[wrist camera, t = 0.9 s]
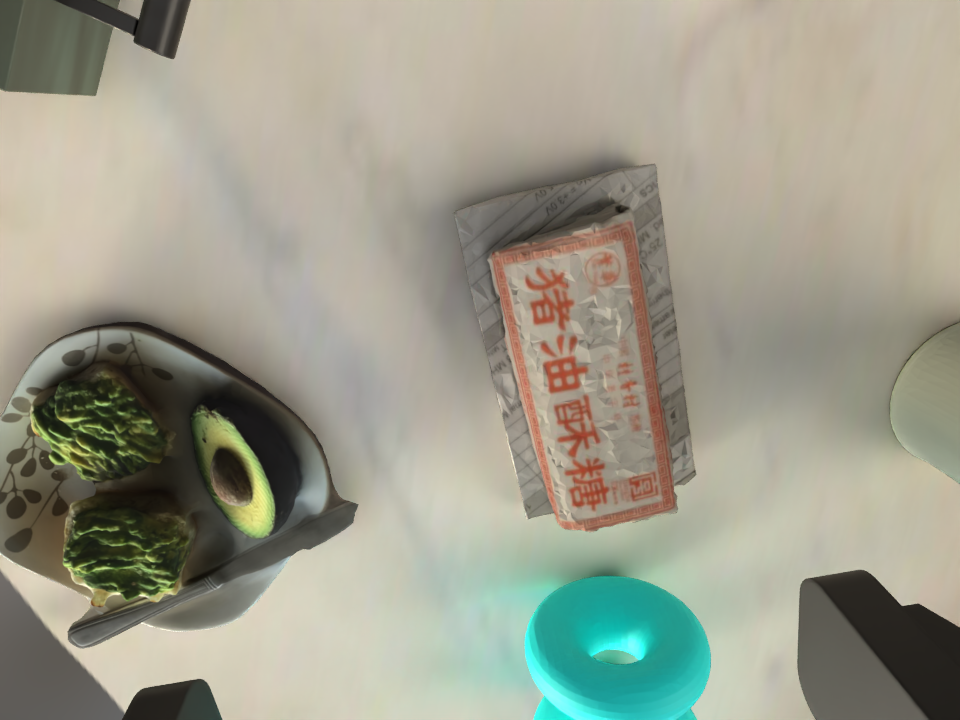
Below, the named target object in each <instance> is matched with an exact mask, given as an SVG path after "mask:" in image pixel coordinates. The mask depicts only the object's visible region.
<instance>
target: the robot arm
mask: <svg viewBox="0 0 960 720" xmlns="http://www.w3.org/2000/svg"><path fill="white" fill-rule="evenodd" d="M797 664H798V674H799V680H800V684H801V687H802V690H803V694H804V696H805V699H806V701H807V704H808V706H809V708H810V710H811V712H812V714H813V716H814V717H815V719H816V720H960V627H958V626H956V625H955V624H953V623H951V622H949V621H948V620H946V619H944V618H942V617H941V616H939V615H937V614H936V613H934V612H932V611H930V610H929V609H927V608H925V607H924V606H922V605H920V604H913V605H907V606H901V605H900V604H899V603H898V602H897V600H896V599H895V598H894V597H893V596H892V595H891V594H890V593H889V592H888V591H887V590H886V589H885V588H884V587H883V586H882V585H881V584H880V583H879V581H878V580H877V579H876V578H875V577H873V576H872V575H871V574H870V573H868V572H867V571H864V570H855V571H849V572H843V573H837V574H832V575H826V576H820V577H814V578H808V579H805V580H804V581H803V582H802V584H801V587H800V598H799V630H798V661H797ZM122 720H222V718H221V715H220V713H219V710H218V707H217V705H216V702H215V700H214V697H213V694H212V692H211V689H210V687H209V685H208V684H207V682H205V681H204V680H202V679H196V680H190V681H184V682H178V683H172V684H166V685H160V686H154V687H148V688H144V689H142V690H140V691H139V692H138V693H137V694H136V695H135V696H134V698H133V700H132V701H131V703H130V705H129V707H128V709H127V711H126V713H125V715H124V717H123V719H122Z"/></svg>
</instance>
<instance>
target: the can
mask: <svg viewBox="0 0 960 720" xmlns="http://www.w3.org/2000/svg"><path fill="white" fill-rule="evenodd" d="M890 419H891V425H892V428H893V431H894V433H895V435H896V437H897V439H898V441H899V442H900V444H901V445H902V446H903V447H904V448H905V449H906V450H907V451H908V452H909V453H911V454H912V455H913V456H915V457H917V458H919V459H921V460H923V461H925V462H928V463H929V464H931V465H932V466H934V467H936V468H937V469H939V470H940V471H942V472H943V473H945V474H946V475H948V476H949V477H951V478H952V479H953V480H955V481H956V482H958V483H959V484H960V323H957V324H955V325H952V326H950V327H948V328H946V329H944V330H943V331H941V332H939V333H937V334H936V335H934V336H933V337H932V338H930V339H929V340H928V341H927V342H925V343H924V344H923V345H922V346H921V347H920V348H919V349H918V350H917V351H916V352H915V353H914V354H913V355H912V357H911V358H910V359H909V360H908V361H907V363H906V364H905V366H904V368H903V369H902V371H901V372H900V374H899V376H898V379H897V381H896V383H895V385H894V389H893V392H892V396H891V401H890Z"/></svg>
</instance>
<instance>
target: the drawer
mask: <svg viewBox="0 0 960 720" xmlns="http://www.w3.org/2000/svg"><path fill="white" fill-rule="evenodd" d="M190 1H191V0H144V2H143V5H142V9H141V13H140V17H139V19H138V18H135V17H133V16H131V15H129V14H127V13H124V12H122V11H120V10H118V9H117V8H118V4H119V0H0V90H3V91H8V92H28V93H47V94H66V95H85V96H96V93H97V89H98V85H99V81H100V77H101V73H102V69H103V65H104V61H105V57H106V53H107V49H108V45H109V41H110V37H111V33H112V29H113V27H114V28H116V29H119V30H121V31H123V32H125V33H128V34H130V35H132V36H135V37H134V43H135V44H137V45H139V46H141V47H143V48H145V49H147V50H150V51H152V52H154V53H157V54H159V55H162V56H164V57H167V58H170V59H174V58H175V55H176V51H177V48H178V44H179V41H180V37H181V33H182V30H183V26H184V23H185V19H186V15H187V12H188V8H189V4H190Z"/></svg>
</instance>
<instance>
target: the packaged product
mask: <svg viewBox="0 0 960 720" xmlns="http://www.w3.org/2000/svg"><path fill="white" fill-rule="evenodd" d="M454 216H455V221H456V225H457V230H458V234H459V239H460V243H461V248H462V252H463V257H464V262H465V266H466V271H467V276H468V280H469V285H470V289H471V293H472V297H473V301H474V304H475V308H476V312H477V316H478V320H479V324H480V328H481V332H482V335H483V339H484V343H485V347H486V351H487V355H488V359H489V363H490V366H491V372H492V377H493V381H494V385H495V389H496V394H497V398H498V402H499V406H500V409H501V413H502V417H503V421H504V424H505V428H506V437H507V441H508V445H509V449H510V453H511V457H512V461H513V465H514V469H515V472H516V476H517V480H518V483H519V487H520V490H521V494H522V500H523V505H524V510H525V514H526V517H527V519H530V518H533V517H537V516H542V515H547V514H551V513H555V515H556V519H557V522H558V524H559V525H560V526H561V527H562V528H564V529H568V530H584V531H588V532H594V531H597V530H598V529H599V528H602V527H609V526H614V525H617V524H621V523H625V522H633V523H634V522H637V521H641V520H648V519H650V518H652V517H657V516H661V515H667V514H674V513H677V510H678V507H677V503H676V502H677V495H676V494H675V492H674V486H678V485H685V484H686V483H687V482H689V481H690V480H691V479H692V478H693V477H694V476H695V475H696V471H695V466H694V461H693V453H692V445H691V436H690V430H689V423H688V416H687V407H686V400H685V394H684V393H685V390H684V385H683V376H682V370H681V356H680V348H679V343H678V337H677V327H676V320H675V313H674V307H673V298H672V290H671V284H670V278H669V266H668V257H667V249H666V242H665V235H664V225H663V218H662V212H661V202H660V198H659V190H658V183H657V170H656V165H655V164H650V165H642V166H634V167H626V168H620V169H616V170H613V171H609V172H606V173H602V174H599V175H595V176H592V177H588V178H585V179H581V180H578V181H573V182H568V183H562V184H556V185H551V186H545V187H541V188H536V189H532V190H527V191H523V192H518V193H513V194H509V195H504V196H500V197H496V198H493V199H490V200H487V201H484V202H481V203H478V204H475V205H472V206H469V207H466V208H463V209H460V210H457V211H455V212H454Z"/></svg>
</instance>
